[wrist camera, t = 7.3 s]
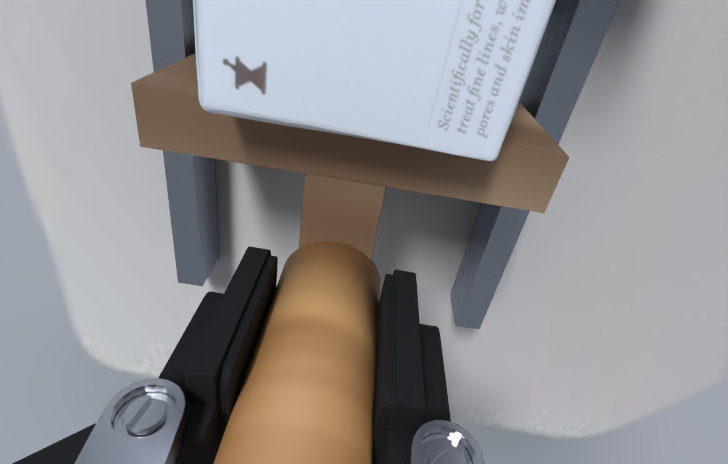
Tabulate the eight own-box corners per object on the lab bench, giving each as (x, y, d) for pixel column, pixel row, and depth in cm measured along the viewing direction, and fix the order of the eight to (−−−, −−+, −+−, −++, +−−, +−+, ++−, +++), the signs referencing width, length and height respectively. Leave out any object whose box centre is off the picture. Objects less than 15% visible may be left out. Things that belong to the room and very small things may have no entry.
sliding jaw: (462, 241, 18) (545, 581, 8) (223, 203, 17) (8, 509, 8) (512, 94, 14) (760, 371, 5) (217, 42, 14) (-178, 226, 4)
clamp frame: (471, 297, 19) (499, 414, 14) (197, 254, 19) (126, 359, 14) (702, -295, 10) (1045, -579, 5) (144, -413, 9) (-158, -866, 4)
